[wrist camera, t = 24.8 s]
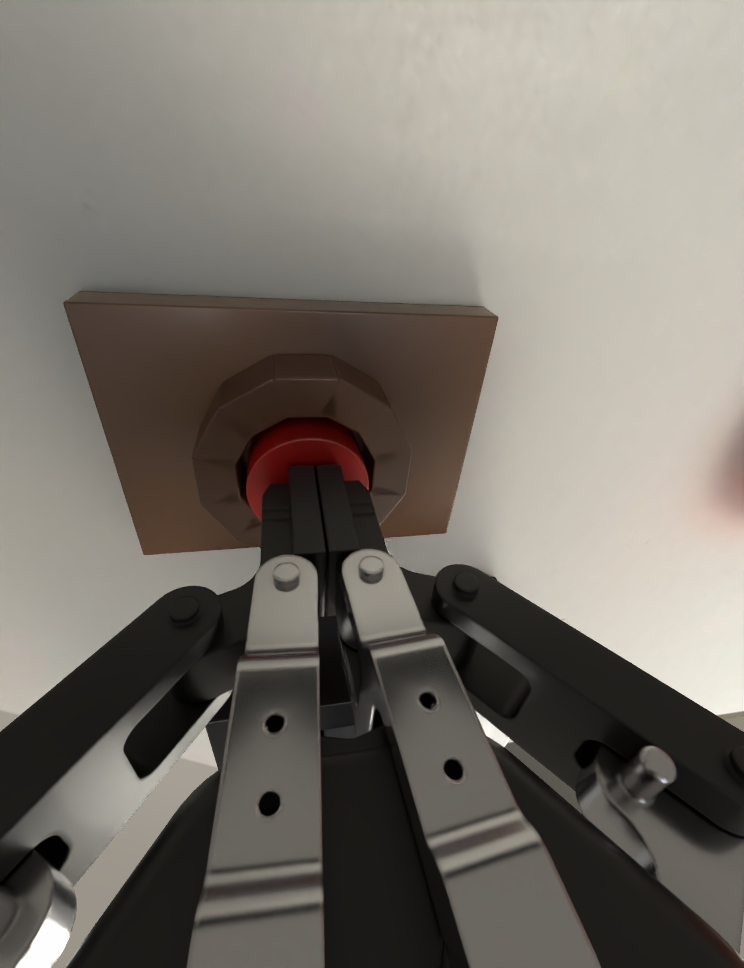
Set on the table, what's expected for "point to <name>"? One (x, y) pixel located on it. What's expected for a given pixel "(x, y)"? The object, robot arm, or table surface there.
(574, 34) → the table surface
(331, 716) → the open-top black bin
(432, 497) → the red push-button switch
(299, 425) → the button
